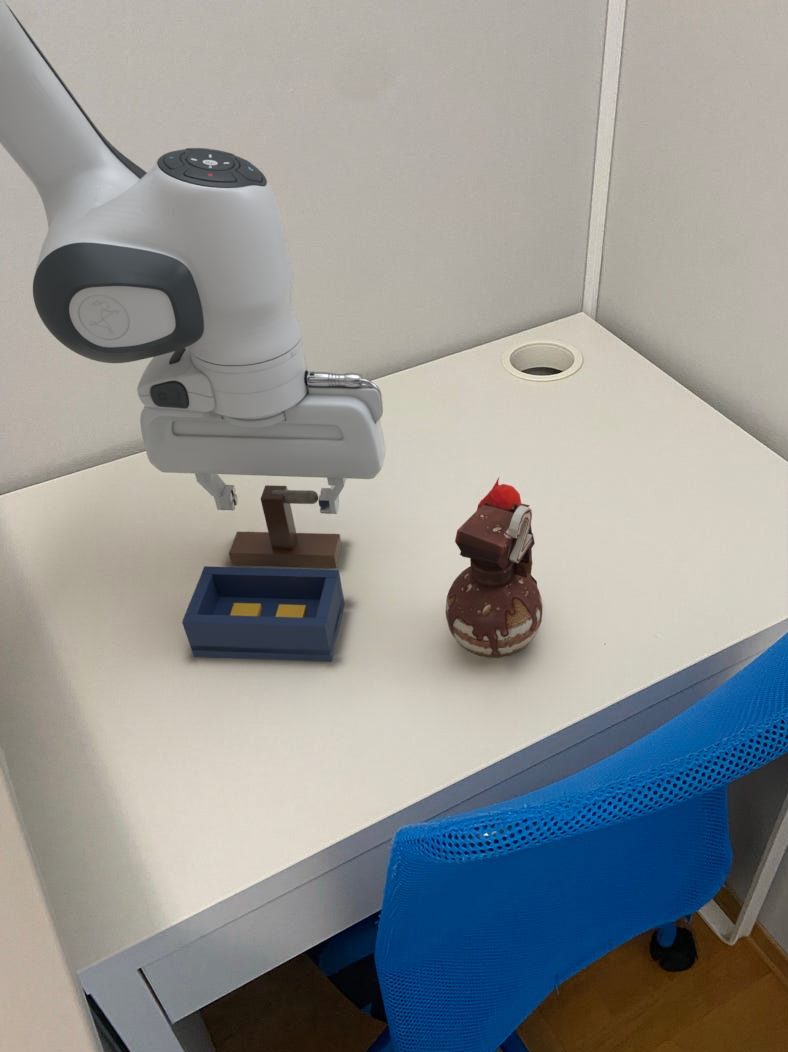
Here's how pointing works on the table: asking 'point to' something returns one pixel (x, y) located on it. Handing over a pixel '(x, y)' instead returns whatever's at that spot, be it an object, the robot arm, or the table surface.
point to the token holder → (265, 613)
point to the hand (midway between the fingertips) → (279, 508)
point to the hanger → (285, 535)
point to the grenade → (496, 578)
